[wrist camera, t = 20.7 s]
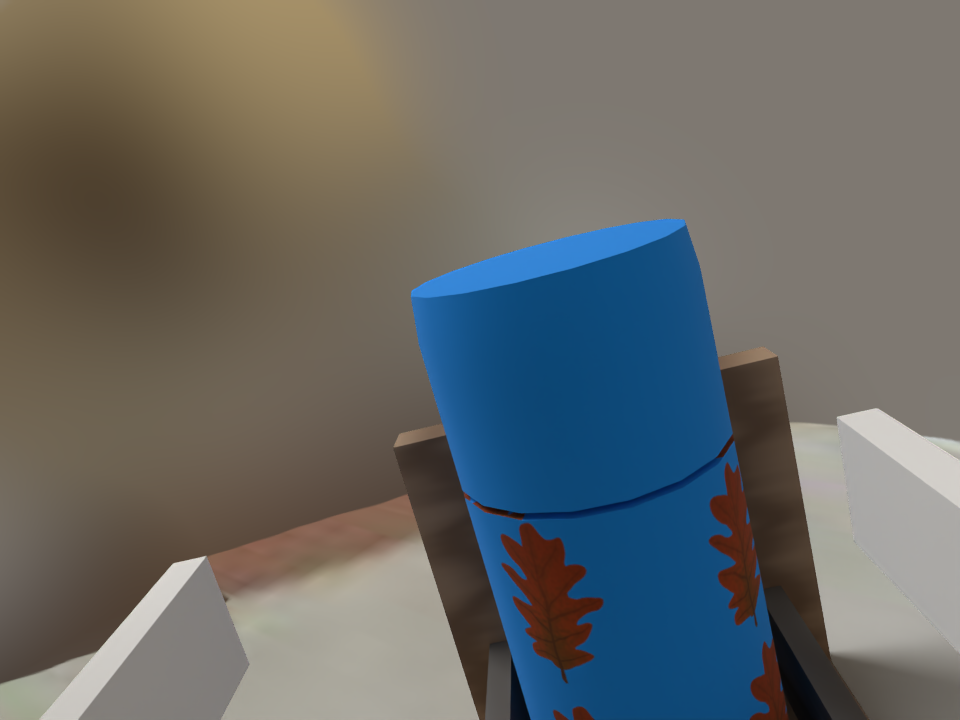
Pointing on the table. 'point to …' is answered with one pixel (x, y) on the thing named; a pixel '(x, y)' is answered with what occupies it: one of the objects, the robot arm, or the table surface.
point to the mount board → (775, 527)
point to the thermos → (604, 476)
